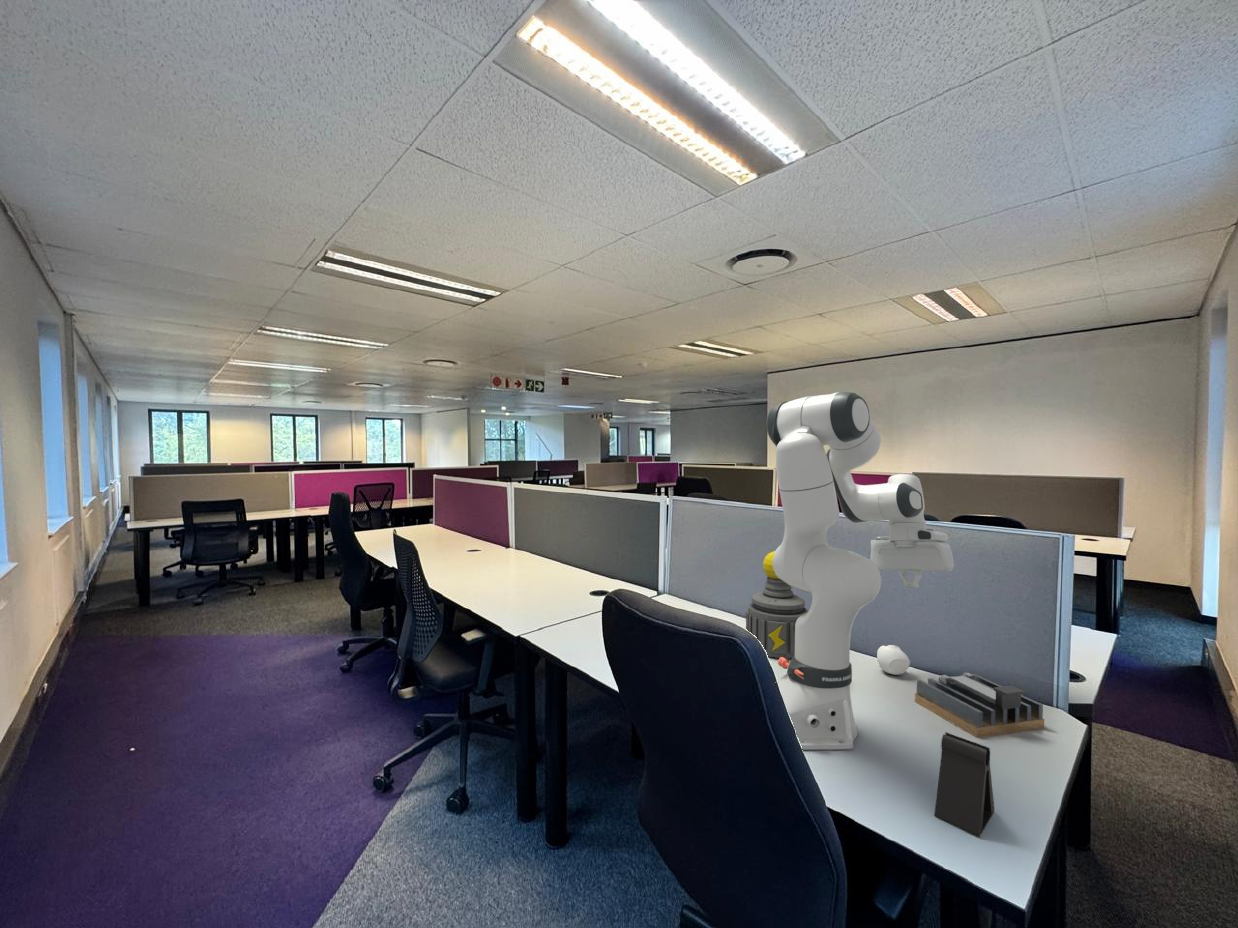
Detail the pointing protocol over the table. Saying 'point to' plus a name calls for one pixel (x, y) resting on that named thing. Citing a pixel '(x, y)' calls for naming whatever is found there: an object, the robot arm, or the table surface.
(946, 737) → the black coffee bag
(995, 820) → the table surface
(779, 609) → the tesla coil
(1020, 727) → the heat sink
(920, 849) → the table surface
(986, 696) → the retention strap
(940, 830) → the table surface
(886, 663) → the motion sensor
